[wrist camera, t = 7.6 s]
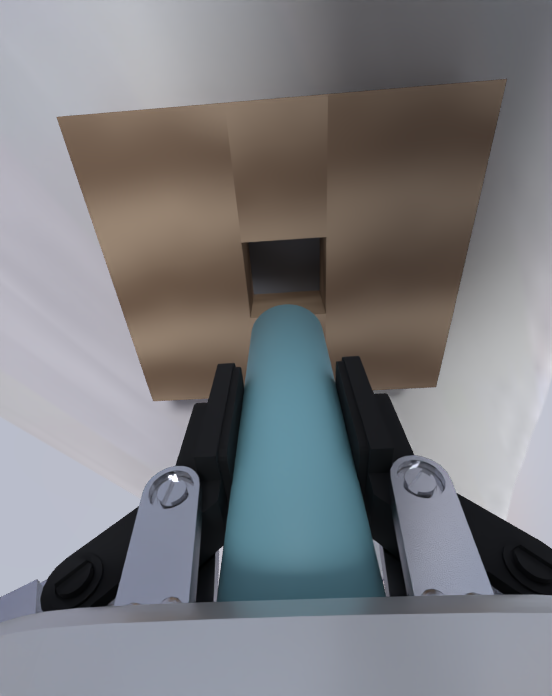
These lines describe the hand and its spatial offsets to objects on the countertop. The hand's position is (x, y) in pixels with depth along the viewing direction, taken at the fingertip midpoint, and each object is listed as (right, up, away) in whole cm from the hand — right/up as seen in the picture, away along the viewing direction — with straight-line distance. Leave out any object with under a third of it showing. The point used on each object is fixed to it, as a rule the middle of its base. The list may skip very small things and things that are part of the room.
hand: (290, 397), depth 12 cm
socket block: (0, +8, +12) cm, 14 cm away
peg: (0, +2, +4) cm, 4 cm away
